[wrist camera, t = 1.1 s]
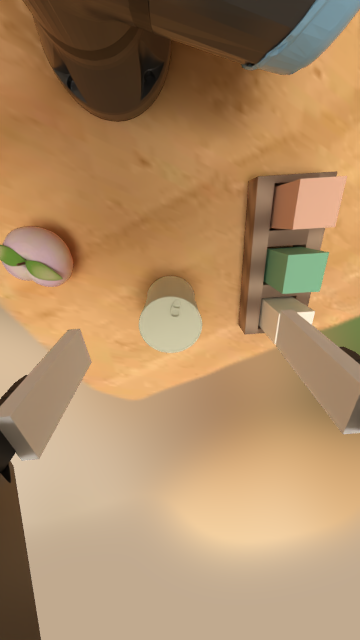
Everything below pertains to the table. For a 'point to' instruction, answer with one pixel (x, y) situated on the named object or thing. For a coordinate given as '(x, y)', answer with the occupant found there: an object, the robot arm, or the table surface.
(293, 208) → the terracotta block
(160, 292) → the can
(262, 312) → the cream block
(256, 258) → the walnut board
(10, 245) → the decorative fruit
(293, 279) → the green block
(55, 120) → the table surface
